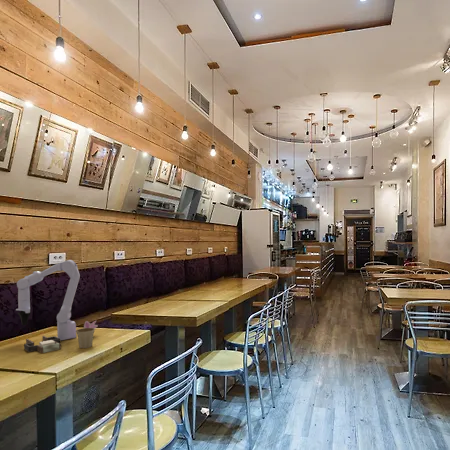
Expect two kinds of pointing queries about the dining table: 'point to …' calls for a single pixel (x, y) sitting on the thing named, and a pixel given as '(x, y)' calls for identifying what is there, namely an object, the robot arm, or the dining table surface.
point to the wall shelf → (30, 346)
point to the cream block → (46, 343)
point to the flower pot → (85, 337)
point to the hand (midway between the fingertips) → (24, 324)
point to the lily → (90, 325)
